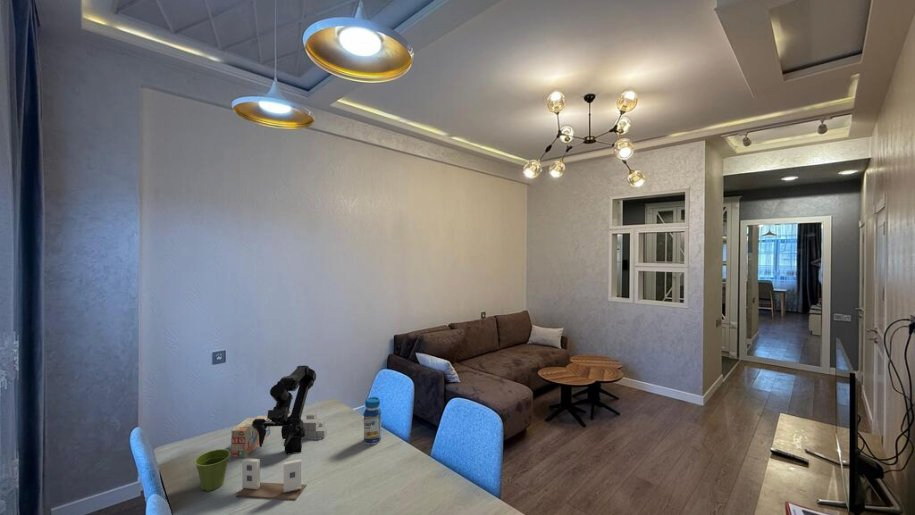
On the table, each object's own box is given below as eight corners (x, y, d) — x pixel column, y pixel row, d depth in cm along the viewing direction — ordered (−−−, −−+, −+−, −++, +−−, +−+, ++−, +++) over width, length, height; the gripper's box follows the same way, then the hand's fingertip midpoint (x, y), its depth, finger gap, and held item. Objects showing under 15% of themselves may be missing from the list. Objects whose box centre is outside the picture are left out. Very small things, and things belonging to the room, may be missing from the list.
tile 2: (245, 486, 145) (245, 458, 144) (259, 487, 144) (259, 459, 144) (241, 489, 142) (241, 461, 142) (256, 490, 142) (256, 462, 141)
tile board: (249, 483, 148) (249, 481, 147) (306, 486, 146) (306, 484, 146) (235, 496, 140) (235, 495, 140) (295, 499, 138) (295, 498, 138)
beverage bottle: (385, 439, 182) (385, 398, 182) (372, 447, 175) (372, 404, 175) (372, 434, 187) (372, 394, 186) (359, 442, 179) (359, 400, 179)
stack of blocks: (258, 433, 187) (257, 409, 187) (270, 434, 187) (270, 409, 187) (231, 457, 166) (231, 429, 166) (245, 457, 166) (245, 430, 166)
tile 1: (283, 490, 142) (283, 462, 142) (301, 487, 144) (301, 458, 144) (283, 494, 140) (283, 465, 140) (301, 490, 142) (301, 461, 142)
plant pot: (203, 499, 138) (203, 469, 138) (188, 488, 144) (188, 459, 144) (237, 482, 148) (236, 454, 148) (221, 473, 154) (221, 445, 154)
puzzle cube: (324, 438, 183) (324, 422, 183) (299, 438, 183) (299, 422, 183) (332, 427, 195) (332, 412, 195) (309, 427, 195) (309, 412, 195)
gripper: (253, 399, 152) (240, 441, 142) (300, 398, 154) (291, 439, 143) (262, 409, 161) (250, 449, 150) (307, 408, 162) (298, 448, 152)
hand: (272, 446), depth 149 cm, fingers open, 9 cm apart
